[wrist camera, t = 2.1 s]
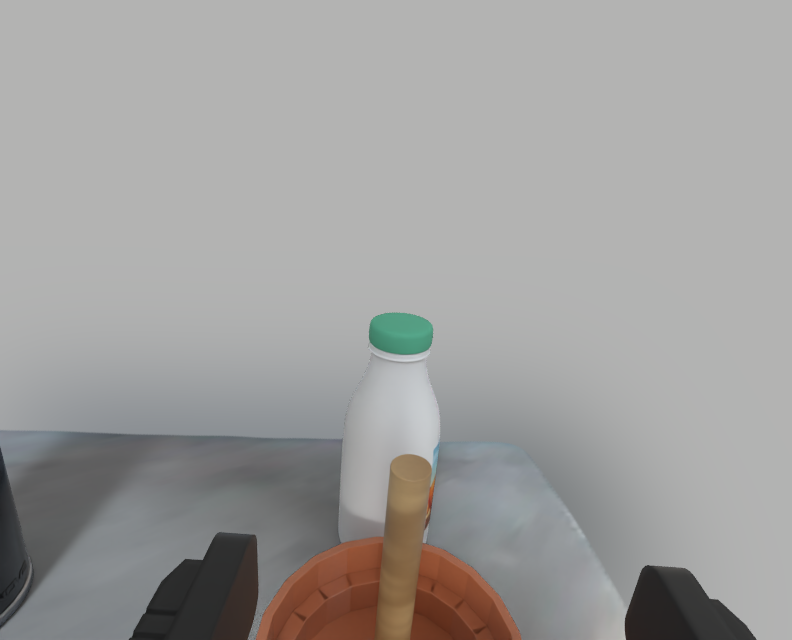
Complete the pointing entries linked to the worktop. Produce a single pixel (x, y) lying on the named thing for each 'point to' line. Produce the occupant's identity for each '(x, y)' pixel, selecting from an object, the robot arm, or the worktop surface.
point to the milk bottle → (387, 423)
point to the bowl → (358, 597)
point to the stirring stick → (402, 545)
